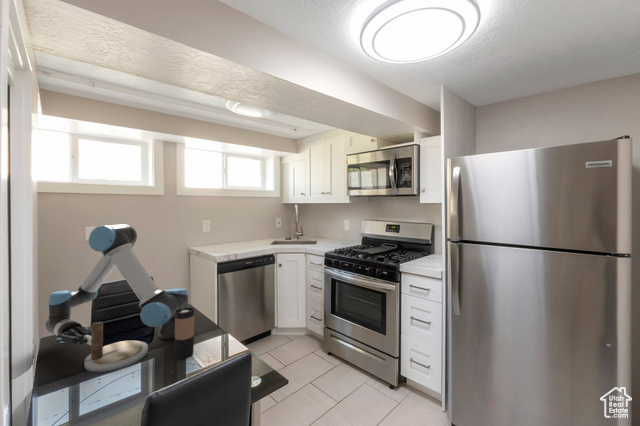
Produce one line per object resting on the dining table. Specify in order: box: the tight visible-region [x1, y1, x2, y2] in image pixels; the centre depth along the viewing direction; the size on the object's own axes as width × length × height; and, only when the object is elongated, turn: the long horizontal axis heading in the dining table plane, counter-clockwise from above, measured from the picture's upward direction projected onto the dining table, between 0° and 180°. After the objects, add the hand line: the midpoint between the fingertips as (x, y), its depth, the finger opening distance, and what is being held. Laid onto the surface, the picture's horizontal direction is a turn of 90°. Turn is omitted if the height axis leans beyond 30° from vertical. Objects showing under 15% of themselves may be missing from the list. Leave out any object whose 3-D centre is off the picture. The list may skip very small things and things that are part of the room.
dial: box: [90, 321, 143, 364], centre depth 118 cm, size 18×18×15 cm
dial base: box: [84, 340, 149, 373], centre depth 118 cm, size 22×22×2 cm
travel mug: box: [174, 307, 195, 361], centre depth 120 cm, size 8×8×20 cm
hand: (93, 341), depth 112 cm, fingers closed
